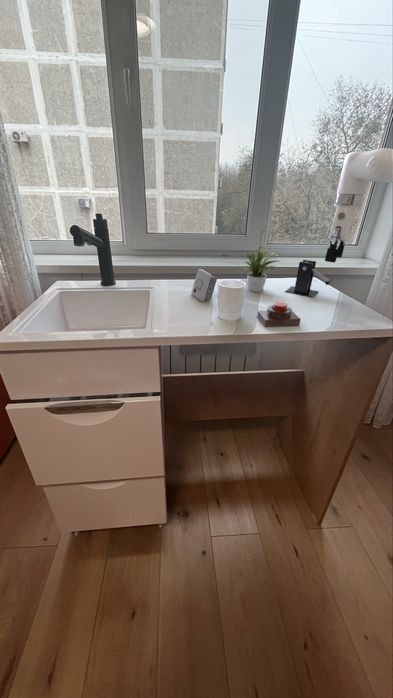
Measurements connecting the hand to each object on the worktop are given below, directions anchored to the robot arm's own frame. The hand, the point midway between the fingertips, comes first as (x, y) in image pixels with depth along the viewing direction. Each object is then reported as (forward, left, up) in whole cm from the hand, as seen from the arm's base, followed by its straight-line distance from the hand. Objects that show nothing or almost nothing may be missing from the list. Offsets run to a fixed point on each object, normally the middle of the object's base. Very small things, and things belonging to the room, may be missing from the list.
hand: (333, 259), depth 95 cm
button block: (+6, +30, -14) cm, 34 cm away
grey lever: (+5, 0, -6) cm, 8 cm away
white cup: (+19, +35, -14) cm, 42 cm away
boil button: (+6, +30, -10) cm, 32 cm away
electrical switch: (+35, +25, -14) cm, 45 cm away
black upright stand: (+8, 0, -14) cm, 16 cm away
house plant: (+23, +9, -14) cm, 28 cm away
